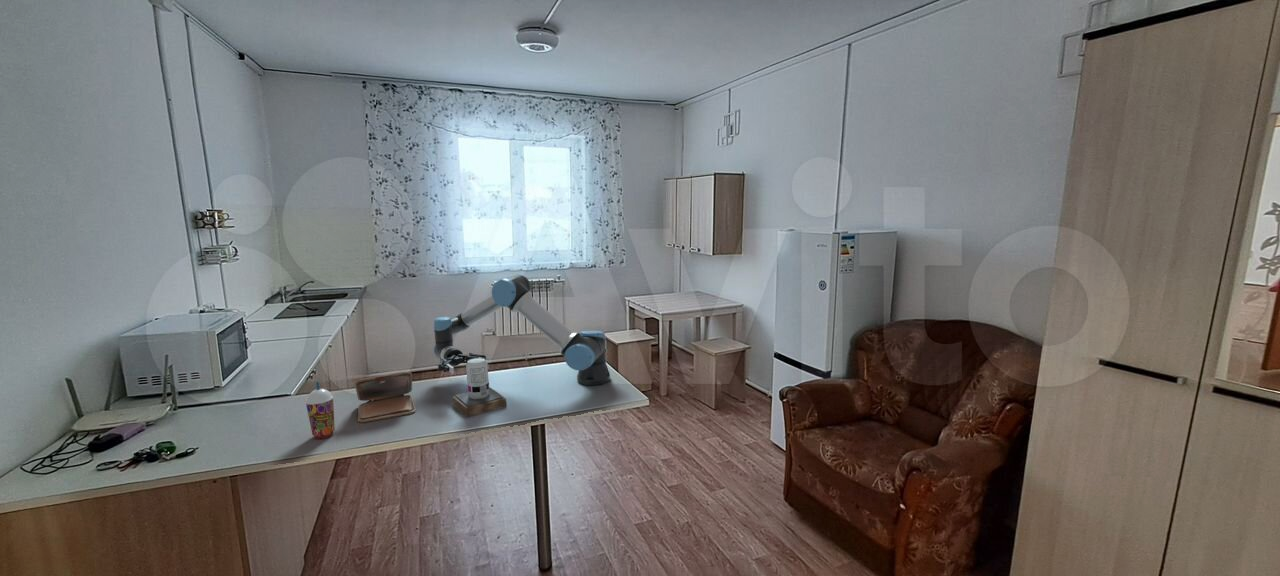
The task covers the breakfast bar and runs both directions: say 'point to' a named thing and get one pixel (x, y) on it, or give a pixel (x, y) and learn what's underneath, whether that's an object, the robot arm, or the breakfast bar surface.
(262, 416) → the breakfast bar surface
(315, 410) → the smoothie
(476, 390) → the supplement can
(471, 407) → the podium
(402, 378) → the case
